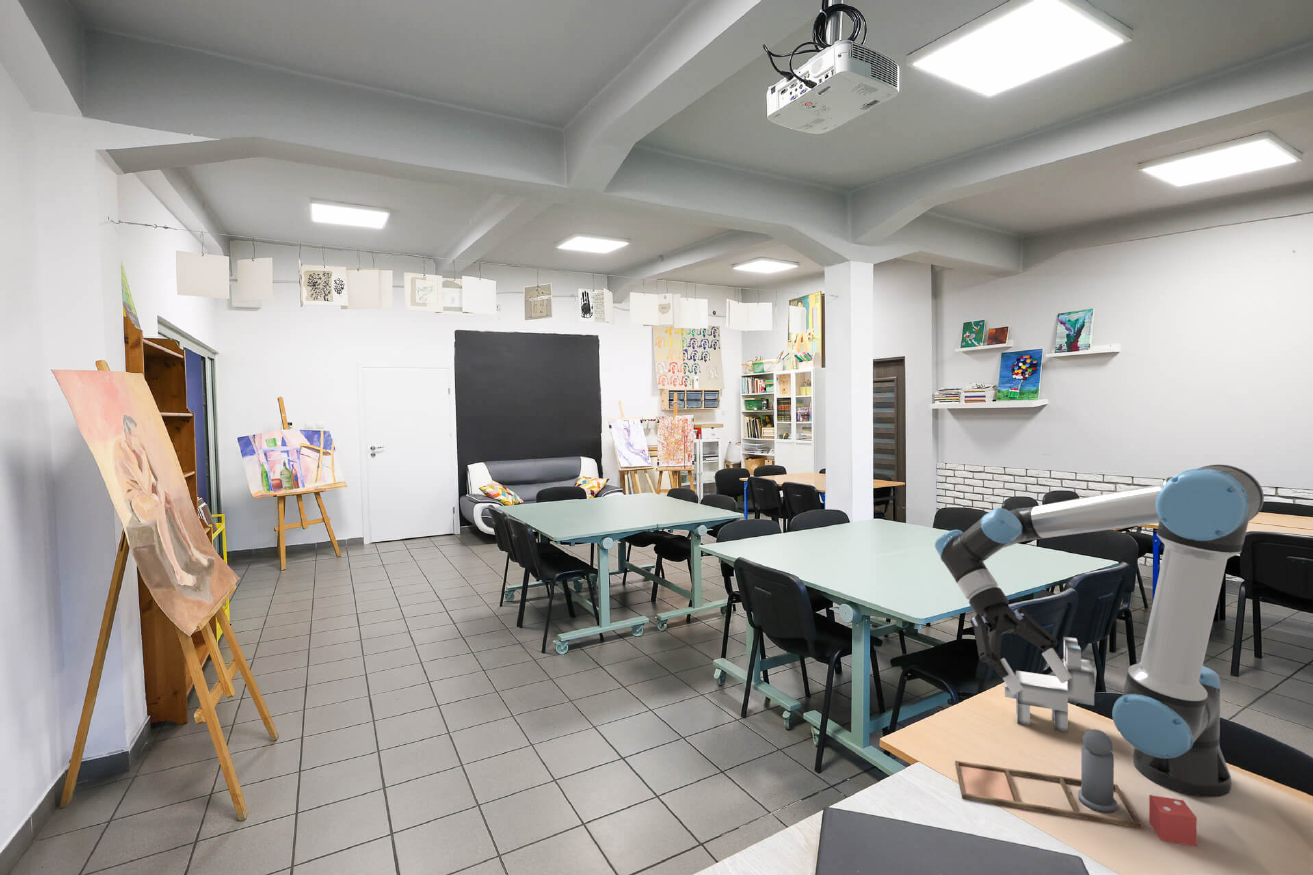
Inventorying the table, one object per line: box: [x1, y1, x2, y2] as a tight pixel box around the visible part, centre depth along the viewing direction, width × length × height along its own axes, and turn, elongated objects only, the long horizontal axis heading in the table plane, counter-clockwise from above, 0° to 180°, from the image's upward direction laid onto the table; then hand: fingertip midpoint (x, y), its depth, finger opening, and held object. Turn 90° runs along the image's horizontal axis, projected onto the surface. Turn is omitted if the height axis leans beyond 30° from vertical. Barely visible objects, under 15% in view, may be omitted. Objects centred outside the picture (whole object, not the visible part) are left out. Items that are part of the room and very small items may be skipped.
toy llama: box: [1004, 636, 1095, 734], centre depth 147 cm, size 8×18×20 cm, turn 62°
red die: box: [1148, 794, 1198, 847], centre depth 109 cm, size 5×5×5 cm
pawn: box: [1077, 728, 1118, 814], centre depth 118 cm, size 6×6×14 cm
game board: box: [954, 760, 1142, 829], centre depth 121 cm, size 29×12×1 cm, turn 70°
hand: (1043, 686), depth 127 cm, fingers open, 13 cm apart
